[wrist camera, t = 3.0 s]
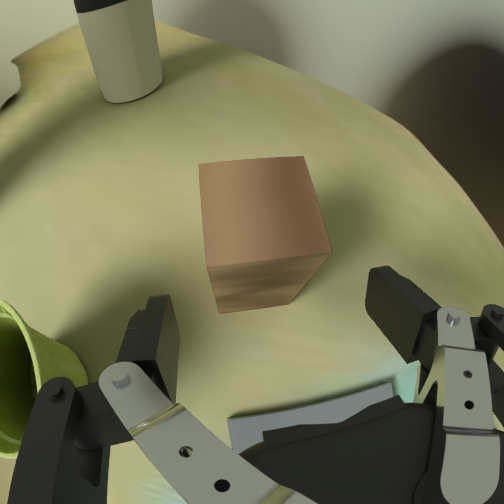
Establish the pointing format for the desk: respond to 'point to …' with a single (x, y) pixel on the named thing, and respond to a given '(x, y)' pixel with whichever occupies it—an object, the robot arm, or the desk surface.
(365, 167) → the desk surface
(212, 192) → the walnut block
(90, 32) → the travel mug
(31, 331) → the plant pot
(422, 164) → the desk surface
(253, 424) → the slate coaster
